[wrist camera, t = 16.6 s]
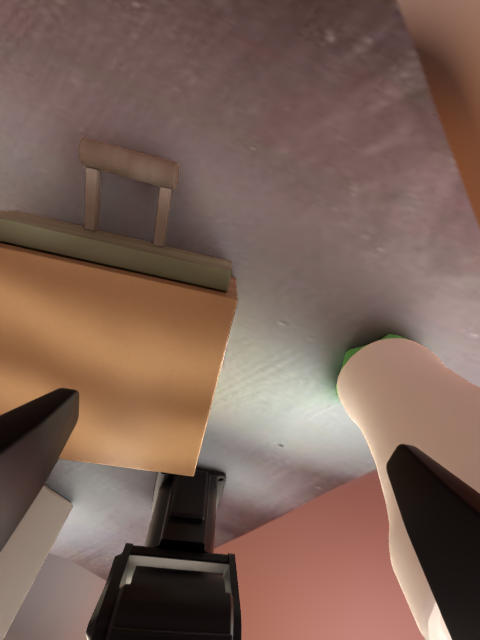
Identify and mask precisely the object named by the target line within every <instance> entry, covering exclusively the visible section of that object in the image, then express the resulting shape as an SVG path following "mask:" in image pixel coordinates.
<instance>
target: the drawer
mask: <svg viewBox="0 0 480 640" xmlns="http://www.w3.org/2000/svg"><path fill="white" fill-rule="evenodd" d="M79 158H80V161H81V163H82V164H83V165H84V166H85V167H86V180H85V223H84V226H80V225H76V224H72V223H67V222H63V221H59V220H55V219H51V218H46V217H42V216H38V215H34V214H29V213H25V212H21V211H0V241H1V242H5V243H10V244H14V245H19V246H23V247H28V248H32V249H37V250H41V251H46V252H50V253H55V254H59V255H64V256H68V257H73V258H77V259H82V260H86V261H91V262H95V263H100V264H104V265H109V266H113V267H118V268H122V269H127V270H131V271H136V272H140V273H145V274H149V275H154V276H158V277H163V278H167V279H172V280H176V281H181V282H185V283H190V284H194V285H199V286H203V287H208V288H212V289H217V290H221V291H228V287H229V283H230V278H231V274H232V262H231V261H228V260H224V259H220V258H215V257H211V256H207V255H203V254H198V253H194V252H190V251H186V250H182V249H177V248H173V247H169V246H165V241H166V234H167V226H168V218H169V211H170V203H171V196H172V189H173V190H175V189H176V187H177V184H178V179H179V164H178V163H177V162H174V161H170V160H166V159H163V158H159V157H156V156H152V155H148V154H145V153H141V152H137V151H134V150H130V149H126V148H123V147H119V146H116V145H112V144H108V143H105V142H101V141H97V140H94V139H90V138H87V137H84V138H82V139H81V140H80V143H79ZM101 171H104V172H108V173H112V174H115V175H119V176H123V177H127V178H131V179H134V180H138V181H142V182H146V183H150V184H154V185H157V186H160V190H159V198H158V207H157V215H156V224H155V232H154V241H153V243H152V242H148V241H144V240H139V239H135V238H131V237H127V236H122V235H118V234H114V233H110V232H106V231H101V230H99V207H100V184H101Z"/></svg>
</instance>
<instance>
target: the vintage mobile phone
mask: <svg viewBox="0 0 480 640" xmlns="http://www.w3.org/2000/svg"><path fill="white" fill-rule="evenodd" d="M72 508H73V506H72V503H70V502H69V501H67V500H66V499H64V498H63V497H61V496H60V495H58V494H57V493H56V492H54V491H53V490H51V489H50V488H48V487H47V486H45V485H44V486H43V488H42V489H41V491H40V492H39V494H38V496H37V497H36V499H35V500H34V502H33V503H32V505H31V506H30V508H29V510H28V511H27V513H26V514H25V516H24V517H23V519H22V520H21V522H20V523H19V525H18V526H17V528H16V529H15V531H14V532H13V534H12V535H11V537H10V539H9V540H8V542H7V543H6V545H5V546H4V548H3V549H2V551H1V552H0V640H3V639H4V637H5V635H6V633H7V631H8V629H9V627H10V625H11V623H12V621H13V619H14V618H15V616H16V614H17V612H18V610H19V608H20V606H21V604H22V602H23V601H24V598H25V597H26V595H27V593H28V591H29V589H30V587H31V585H32V583H33V581H34V580H35V578H36V576H37V574H38V572H39V570H40V568H41V566H42V564H43V562H44V561H45V559H46V557H47V555H48V553H49V551H50V549H51V547H52V546H53V544H54V542H55V540H56V538H57V536H58V534H59V532H60V530H61V528H62V527H63V525H64V523H65V521H66V519H67V517H68V515H69V513H70V511H71V509H72Z"/></svg>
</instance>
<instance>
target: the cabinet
mask: <svg viewBox="0 0 480 640" xmlns="http://www.w3.org/2000/svg"><path fill="white" fill-rule="evenodd" d="M237 301H238V297H237V286H236V278H234V277H231V278H230V283H229V287H228V291H221V290H217V289H212V288H208V287H203V286H199V285H194V284H190V283H185V282H181V281H176V280H172V279H167V278H163V277H158V276H154V275H149V274H145V273H140V272H136V271H131V270H127V269H122V268H118V267H113V266H109V265H104V264H100V263H95V262H91V261H86V260H82V259H77V258H73V257H68V256H64V255H59V254H55V253H50V252H46V251H41V250H37V249H32V248H28V247H23V246H19V245H14V244H10V243H5V242H1V241H0V415H2V414H4V413H6V412H8V411H10V410H13V409H15V408H17V407H19V406H21V405H23V404H26V403H28V402H30V401H32V400H34V399H36V398H39V397H41V396H43V395H45V394H47V393H49V392H52V391H54V390H56V389H58V388H69V389H75V390H77V391H78V392H79V417H78V421H77V424H76V426H75V428H74V430H73V431H72V433H71V435H70V437H69V439H68V441H67V443H66V445H65V447H64V449H63V451H62V452H61V454H60V456H59V459H67V460H74V461H81V462H89V463H96V464H104V465H111V466H119V467H126V468H133V469H141V470H148V471H156V472H163V473H171V474H178V475H185V476H194V473H195V469H196V465H197V461H198V457H199V453H200V449H201V445H202V441H203V437H204V433H205V429H206V425H207V421H208V417H209V413H210V409H211V405H212V401H213V397H214V393H215V389H216V385H217V381H218V377H219V373H220V369H221V365H222V361H223V357H224V353H225V349H226V345H227V341H228V337H229V333H230V329H231V325H232V321H233V317H234V313H235V309H236V305H237Z"/></svg>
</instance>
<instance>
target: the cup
mask: <svg viewBox="0 0 480 640" xmlns="http://www.w3.org/2000/svg"><path fill="white" fill-rule="evenodd" d="M335 388H336V393H337V395H338V398H339V400H340V401H341V403H342V405H343V406H344V408H345V410H346V412H347V413H348V415H349V417H350V418H351V420H352V421H353V422H354V423H355V424H356V425H358V426H359V428H360V430H361V431H362V433H363V435H364V437H365V439H366V441H367V444H368V446H369V448H370V451H371V453H372V456H373V458H374V461H375V463H376V467H377V471H378V474H379V478H380V482H381V486H382V490H383V494H384V498H385V501H386V506H387V512H388V518H389V523H390V529H389V540H388V542H389V550H390V558H391V563H392V568H393V570H394V572H395V575H396V577H397V579H398V582H399V584H400V586H401V589H402V591H403V593H404V595H405V598H406V600H407V603H408V605H409V607H410V609H411V612H412V614H413V616H414V619H415V621H416V623H417V626H418V628H419V630H420V633H421V634H422V635H423V636H424V638H425V639H426V640H452V639H451V637H450V634H449V632H448V630H447V627H446V625H445V622H444V620H443V618H442V615H441V613H440V610H439V608H438V606H437V603H436V601H435V599H434V596H433V594H432V591H431V589H430V587H429V584H428V582H427V579H426V577H425V575H424V572H423V570H422V567H421V565H420V563H419V560H418V558H417V555H416V553H415V551H414V548H413V546H412V543H411V541H410V539H409V536H408V533H407V531H406V528H405V525H404V523H403V520H402V517H401V514H400V511H399V508H398V505H397V501H396V498H395V495H394V492H393V489H392V486H391V483H390V480H389V477H388V474H387V471H386V465H387V462H388V460H389V458H390V457H391V455H392V453H393V452H394V450H395V449H396V447H397V446H398V445H399V444H407V445H412V446H415V447H417V448H418V449H420V450H421V451H422V452H424V453H425V454H427V455H428V456H429V457H431V458H432V459H433V460H435V461H436V462H437V463H439V464H440V465H442V466H443V467H444V468H446V469H447V470H448V471H450V472H451V473H452V474H454V475H455V476H457V477H458V478H459V479H461V480H462V481H463V482H465V483H466V484H467V485H469V486H470V487H472V488H473V489H474V490H476V491H477V492H478V493H480V388H479V387H477V386H476V385H474V384H472V383H470V382H468V381H467V380H465V379H464V378H462V377H461V376H459V375H458V374H456V373H454V372H453V371H451V370H450V369H448V368H447V367H445V365H444V364H443V363H442V361H441V360H440V359H439V358H438V356H437V355H435V354H434V353H433V352H431V351H430V350H428V349H427V348H426V347H424V346H423V345H421V344H419V343H416V342H414V341H412V340H409V339H407V338H404V337H402V336H398V335H395V334H388V335H386V336H384V337H383V338H382V339H380V340H378V341H375V342H372V343H371V344H368V345H365V346H362V347H359V348H358V347H357V348H353V349H349V350H348V351H347V352H346V353H345V357H344V361H343V365H342V368H341V372H340V374H339V376H338V381H337V385H336V387H335Z"/></svg>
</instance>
